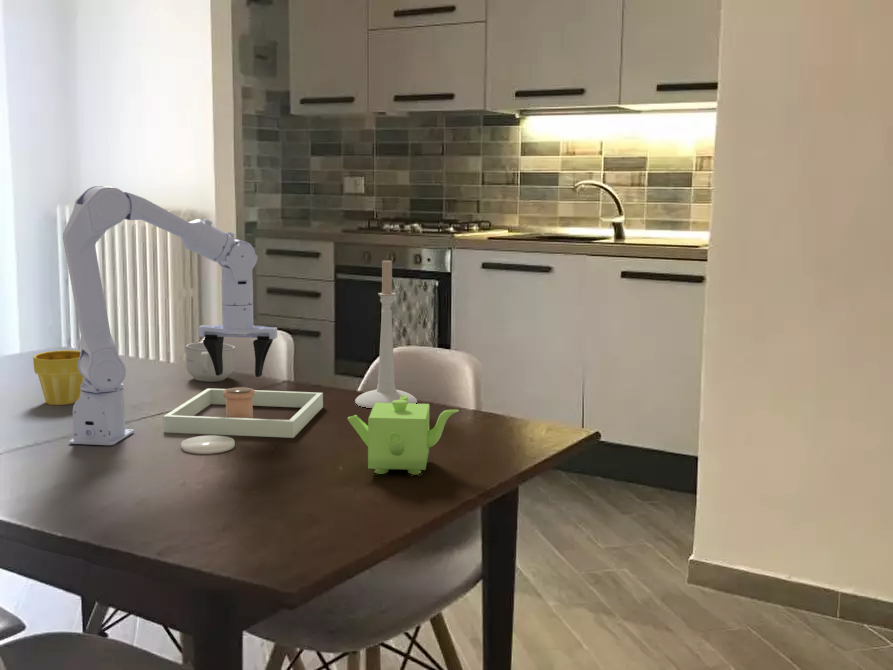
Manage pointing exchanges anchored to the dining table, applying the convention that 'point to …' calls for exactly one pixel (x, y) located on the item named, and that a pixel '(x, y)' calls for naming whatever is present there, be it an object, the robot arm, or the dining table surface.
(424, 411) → the kettle
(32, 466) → the dining table surface
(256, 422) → the rectangular frame
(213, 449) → the saucer
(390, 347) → the candlestick
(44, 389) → the plant pot
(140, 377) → the dining table surface
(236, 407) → the terracotta pot
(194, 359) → the teacup
